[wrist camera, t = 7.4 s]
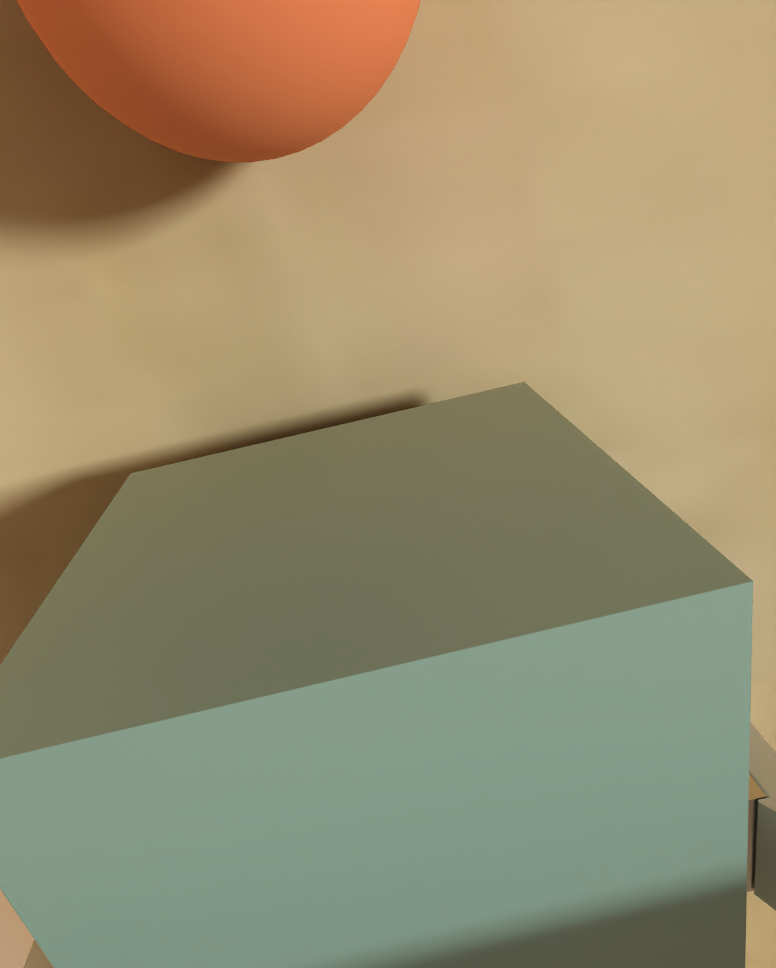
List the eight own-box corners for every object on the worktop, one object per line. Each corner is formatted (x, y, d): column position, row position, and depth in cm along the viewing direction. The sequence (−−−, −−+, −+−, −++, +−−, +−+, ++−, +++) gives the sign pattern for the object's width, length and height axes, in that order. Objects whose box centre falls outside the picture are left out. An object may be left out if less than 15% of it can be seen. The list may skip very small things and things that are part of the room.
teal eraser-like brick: (576, 788, 16) (741, 1162, 10) (285, 858, 16) (265, 1277, 9) (524, 382, 12) (752, 581, 5) (130, 473, 11) (-77, 777, 5)
